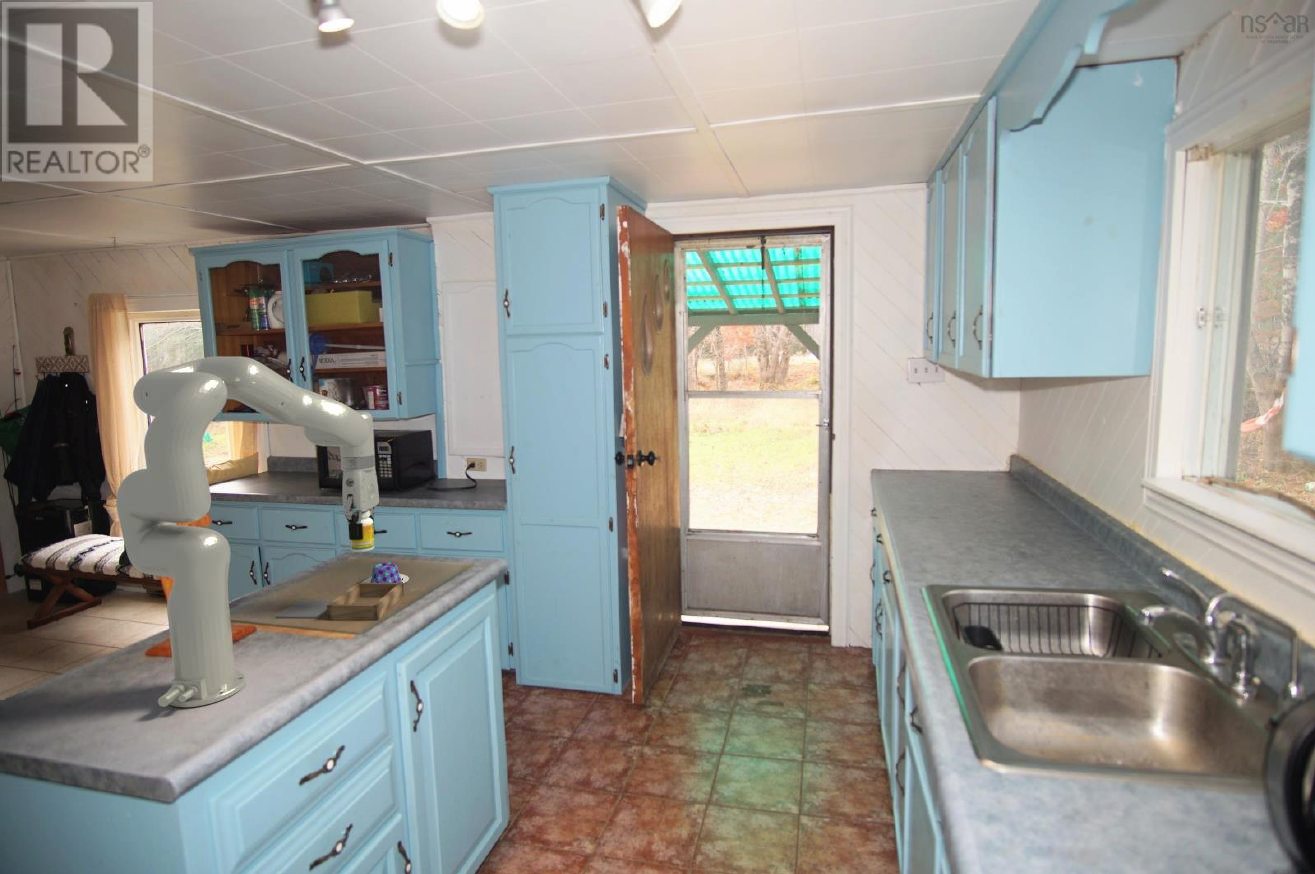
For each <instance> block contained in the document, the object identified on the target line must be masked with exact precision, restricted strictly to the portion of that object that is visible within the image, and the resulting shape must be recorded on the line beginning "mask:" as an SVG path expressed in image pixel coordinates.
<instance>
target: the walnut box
mask: <svg viewBox="0 0 1315 874" xmlns="http://www.w3.org/2000/svg"><path fill="white" fill-rule="evenodd" d="M404 589H405V588H404V583H401V582H399V583H363V582H356V583H355V584H353V585H352V586H351V587H350V588H348V589H347V590H346V591H344V592H343V593H342V594H340V595H339V596H337V597H336V598H335V599H334V600H332V601H333V602H331V603H330V604H329V605H327V611H326V614H327V621H379V620H380V619H381V618H382V617H383V616H384V615H385V614H386V613H387V612H388V611H389V610H391V609H392V608H393V607H394V606H395V605H396V604H397V603H398V602H399V601H400V600H401V599H402V598H403V597H404V596H405V590H404ZM402 596H403V597H402ZM360 598H380V599H379V600H378V601H377V602H375V603H374V604H363V603H362V604H356V603H355V602H356V601H357V600H359V599H360ZM398 600H399V601H398ZM397 601H398V602H397ZM396 602H397V603H396ZM354 603H355V604H354ZM393 605H394V606H393ZM392 606H393V607H392ZM383 614H384V615H383ZM382 615H383V616H382ZM378 619H379V620H378Z"/></svg>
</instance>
